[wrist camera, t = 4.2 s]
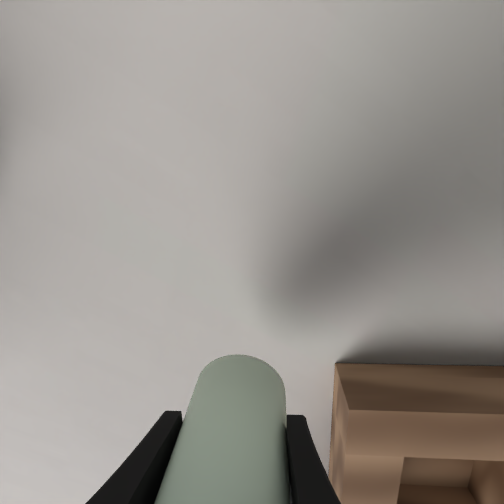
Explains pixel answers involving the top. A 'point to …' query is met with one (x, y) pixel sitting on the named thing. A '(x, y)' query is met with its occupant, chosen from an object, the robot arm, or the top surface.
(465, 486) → the socket block
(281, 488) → the peg
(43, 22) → the top surface
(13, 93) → the top surface
